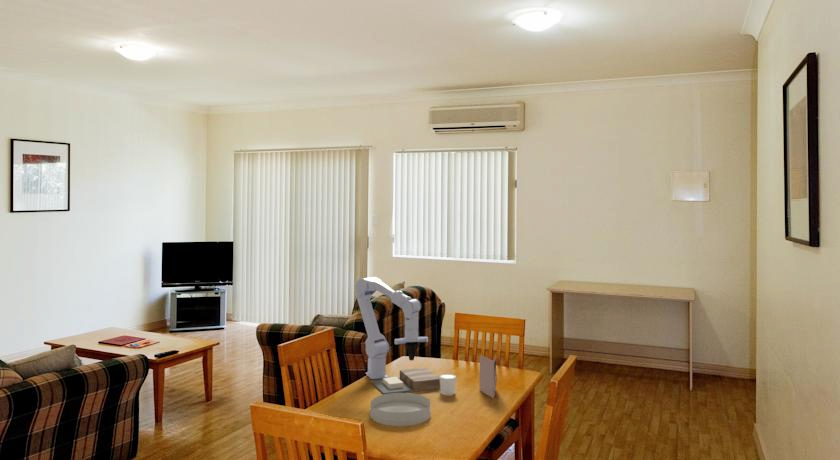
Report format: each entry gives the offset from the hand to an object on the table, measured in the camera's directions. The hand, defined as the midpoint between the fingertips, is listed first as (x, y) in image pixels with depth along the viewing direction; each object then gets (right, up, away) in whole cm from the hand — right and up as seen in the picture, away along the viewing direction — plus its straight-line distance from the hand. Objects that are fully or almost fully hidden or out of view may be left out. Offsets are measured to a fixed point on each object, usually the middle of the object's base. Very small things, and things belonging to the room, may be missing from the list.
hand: (411, 359), depth 258 cm
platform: (+4, -10, +1) cm, 11 cm away
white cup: (+15, -11, -11) cm, 22 cm away
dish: (-3, -13, -36) cm, 39 cm away
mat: (-8, -11, -3) cm, 14 cm away
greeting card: (+31, -11, -12) cm, 35 cm away
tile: (-8, -9, -3) cm, 12 cm away
